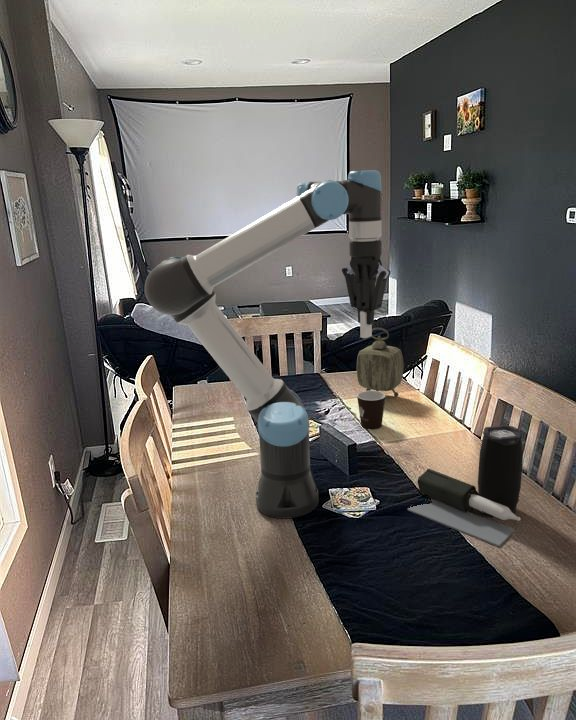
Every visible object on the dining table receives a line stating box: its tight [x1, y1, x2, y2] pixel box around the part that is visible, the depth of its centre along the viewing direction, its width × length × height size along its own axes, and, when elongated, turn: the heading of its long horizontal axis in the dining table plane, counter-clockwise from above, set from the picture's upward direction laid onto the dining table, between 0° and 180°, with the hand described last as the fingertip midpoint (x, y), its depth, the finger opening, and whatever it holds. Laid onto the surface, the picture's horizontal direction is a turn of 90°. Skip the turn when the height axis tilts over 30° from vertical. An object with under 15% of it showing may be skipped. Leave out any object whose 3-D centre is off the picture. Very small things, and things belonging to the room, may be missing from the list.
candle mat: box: [407, 498, 516, 548], centre depth 130 cm, size 8×22×1 cm, turn 46°
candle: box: [417, 468, 522, 522], centre depth 133 cm, size 5×5×25 cm
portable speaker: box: [477, 424, 524, 519], centre depth 131 cm, size 9×9×20 cm
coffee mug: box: [356, 390, 386, 431], centre depth 183 cm, size 12×9×10 cm
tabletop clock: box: [356, 327, 404, 397], centre depth 204 cm, size 14×9×25 cm, turn 58°
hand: (366, 336), depth 145 cm, fingers closed
